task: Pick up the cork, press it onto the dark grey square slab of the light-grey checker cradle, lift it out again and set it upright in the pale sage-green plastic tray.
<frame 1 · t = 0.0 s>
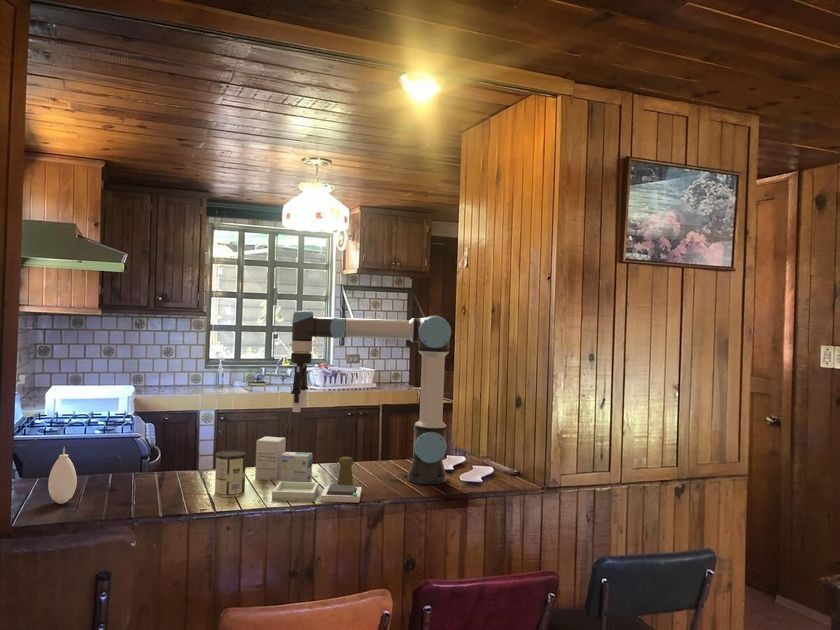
hand: (299, 409, 244), 28 cm above the countertop, tool pointing down, fingers open, 13 cm apart
bulb syringe: (61, 503, 210), on the countertop
supplement box: (269, 477, 253), on the countertop
checker cradle: (341, 496, 229), on the countertop
sorting tray: (295, 495, 229), on the countertop
light bulb box: (295, 482, 248), on the countertop
coffee can: (229, 494, 228), on the countertop
dark grey square slab: (342, 490, 229), point 2 cm above the countertop, slide at 0.1 cm
cork: (345, 487, 243), on the countertop
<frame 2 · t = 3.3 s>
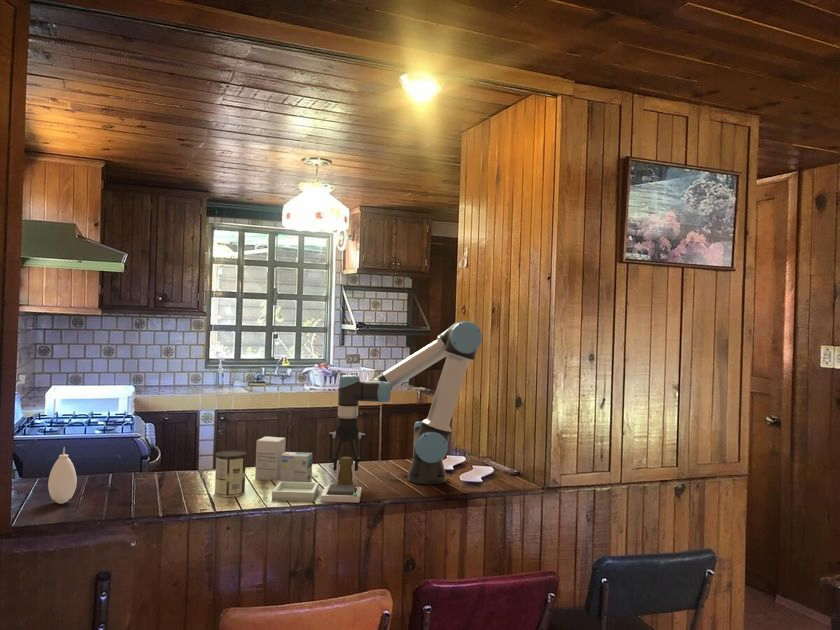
hand: (345, 479, 243), 3 cm above the countertop, tool pointing down, fingers closed on cork, 5 cm apart
cork: (345, 487, 243), on the countertop, touching gripper
everything else where it was.
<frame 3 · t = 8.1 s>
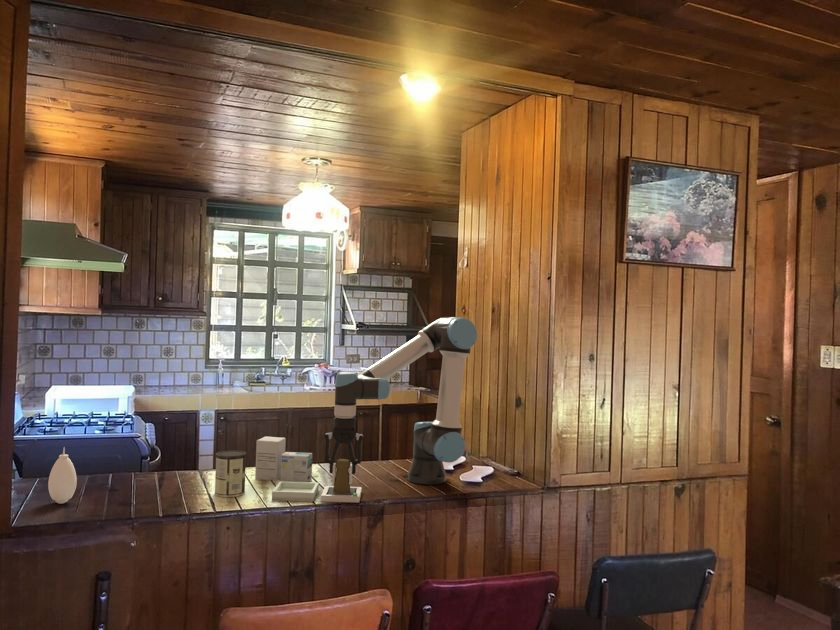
hand: (342, 482, 229), 5 cm above the countertop, tool pointing down, fingers closed on cork, 5 cm apart
dark grey square slab: (341, 493, 229), point 1 cm above the countertop, slide at 1.1 cm, touching cork
cork: (341, 491, 229), point 2 cm above the countertop, touching dark grey square slab, gripper
everything else where it was.
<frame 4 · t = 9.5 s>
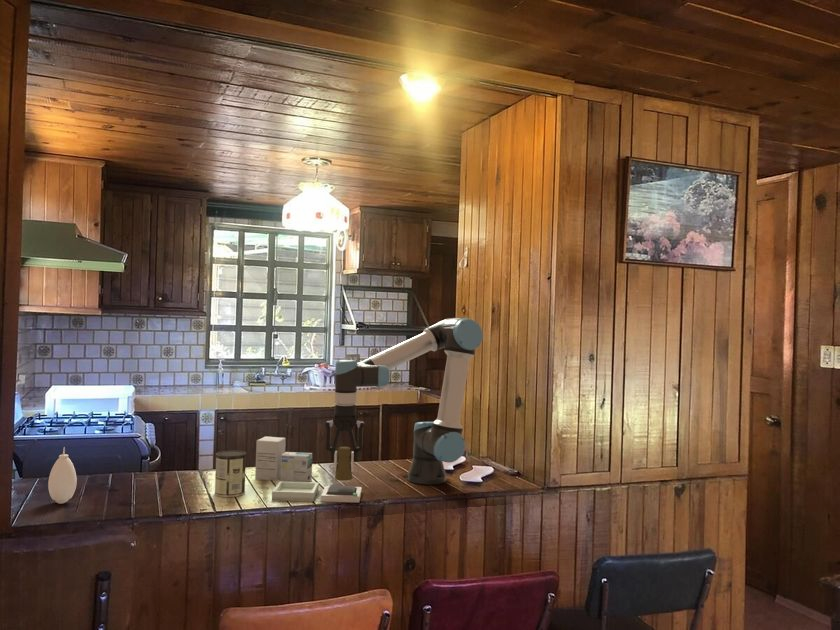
hand: (343, 470, 230), 9 cm above the countertop, tool pointing down, fingers closed on cork, 5 cm apart
dark grey square slab: (341, 491, 229), point 2 cm above the countertop, slide at 0.4 cm
cork: (343, 479, 230), point 6 cm above the countertop, touching gripper
everything else where it was.
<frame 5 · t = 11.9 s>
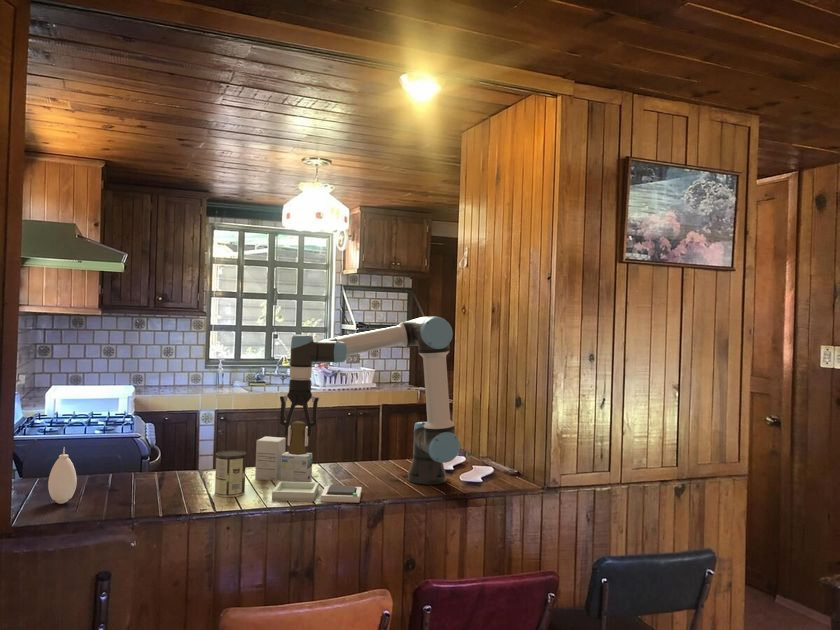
hand: (297, 445, 229), 18 cm above the countertop, tool pointing down, fingers closed on cork, 5 cm apart
cork: (297, 453, 229), point 15 cm above the countertop, touching gripper
everything else where it was.
when the fingers open (5 cm above the countertop, at t = 14.4 s): cork stays where it is, resting on sorting tray.
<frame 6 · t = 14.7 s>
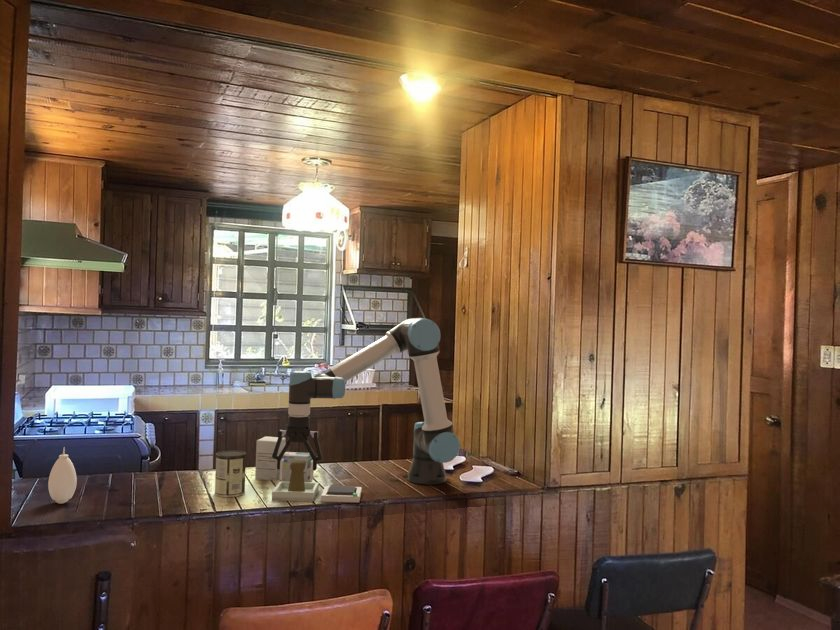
hand: (296, 479, 229), 6 cm above the countertop, tool pointing down, fingers open, 10 cm apart
cork: (296, 493, 229), point 1 cm above the countertop, touching sorting tray
everything else where it was.
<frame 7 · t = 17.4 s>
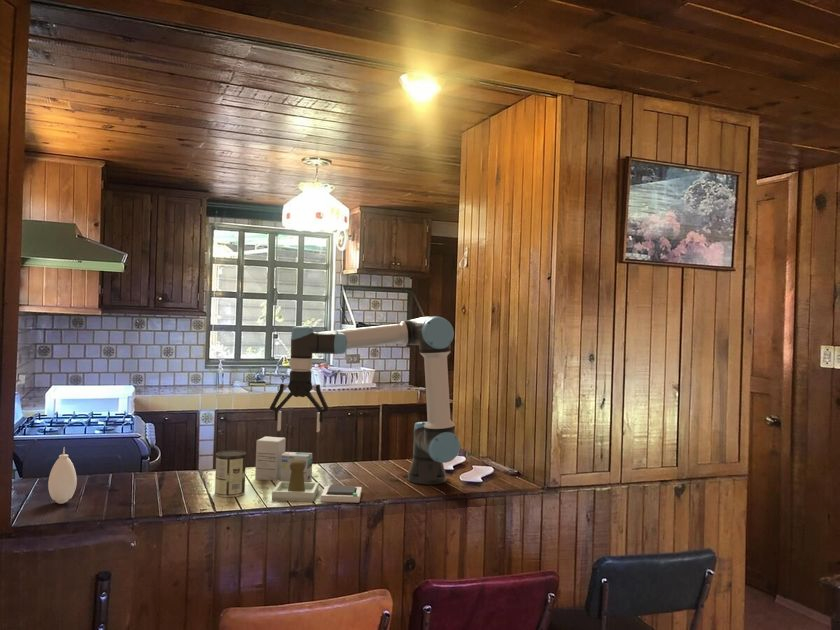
hand: (298, 431, 229), 23 cm above the countertop, tool pointing down, fingers open, 13 cm apart
nothing on the countertop moved.
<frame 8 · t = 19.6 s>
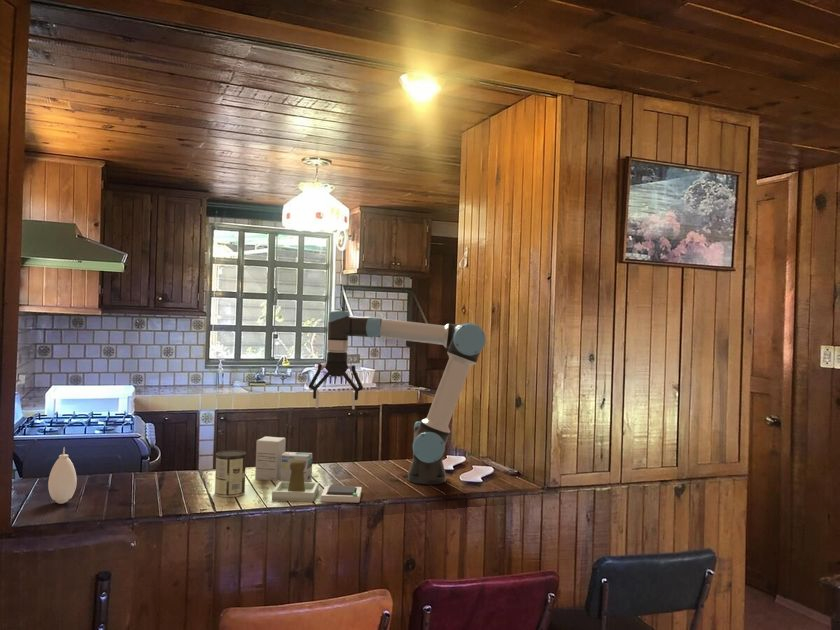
hand: (335, 408, 245), 29 cm above the countertop, tool pointing down, fingers open, 13 cm apart
nothing on the countertop moved.
at the end: cork inside the target area on the sorting tray (0.2 cm from its centre), point 0.8 cm above the sorting tray's base; cork tilted 0°; the gripper is holding nothing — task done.
